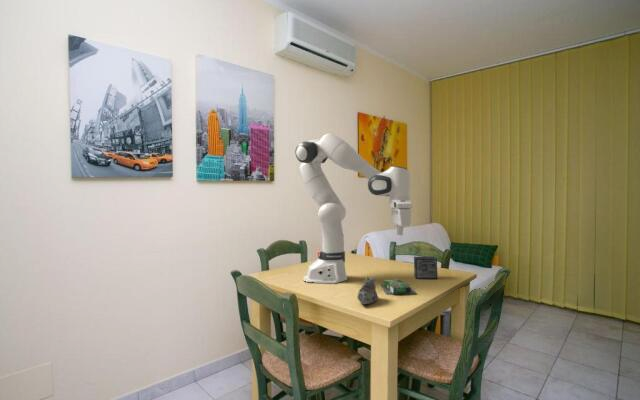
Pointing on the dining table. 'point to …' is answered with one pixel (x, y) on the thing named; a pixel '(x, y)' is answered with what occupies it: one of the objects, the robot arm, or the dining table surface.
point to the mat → (392, 293)
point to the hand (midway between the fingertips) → (399, 235)
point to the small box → (425, 267)
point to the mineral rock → (368, 291)
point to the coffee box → (397, 286)
